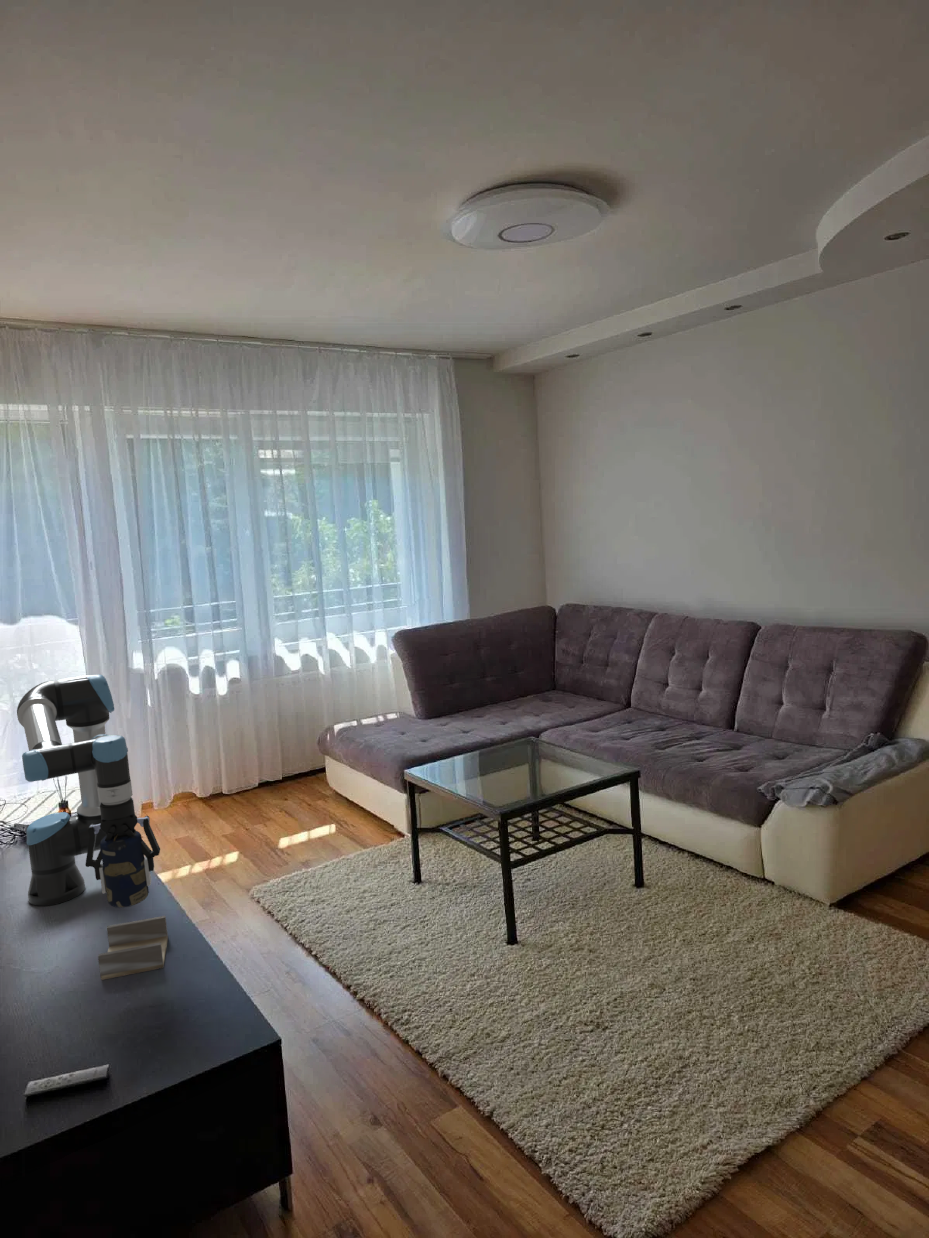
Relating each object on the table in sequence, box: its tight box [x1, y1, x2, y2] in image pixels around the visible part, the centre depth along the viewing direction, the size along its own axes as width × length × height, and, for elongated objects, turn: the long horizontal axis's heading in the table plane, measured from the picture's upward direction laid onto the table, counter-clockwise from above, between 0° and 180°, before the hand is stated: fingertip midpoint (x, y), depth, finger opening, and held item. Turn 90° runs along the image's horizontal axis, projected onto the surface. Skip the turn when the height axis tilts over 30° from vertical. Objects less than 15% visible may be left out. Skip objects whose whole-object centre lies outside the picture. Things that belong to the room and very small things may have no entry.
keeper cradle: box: [97, 915, 169, 981], centre depth 205 cm, size 15×14×6 cm
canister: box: [100, 830, 150, 908], centre depth 202 cm, size 10×10×18 cm
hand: (127, 887), depth 203 cm, fingers closed on canister, 9 cm apart
